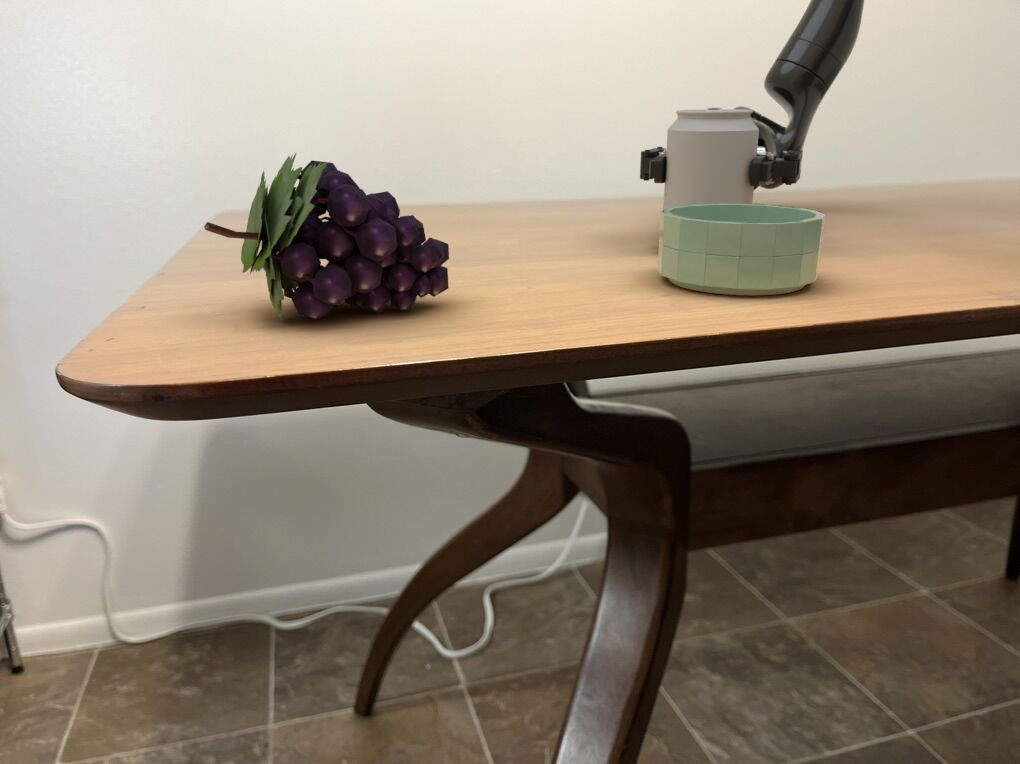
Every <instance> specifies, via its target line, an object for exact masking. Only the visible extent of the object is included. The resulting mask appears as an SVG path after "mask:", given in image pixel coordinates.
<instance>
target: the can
mask: <svg viewBox="0 0 1020 764" xmlns="http://www.w3.org/2000/svg"><path fill="white" fill-rule="evenodd" d="M752 110H753V109H752ZM752 110H744V109H734V108H731V109H730V108H725V109H724V108H722V107H718V106H717V107H716V106H715V107H706V109H678V110H676V111H675V113H676V115H677V118H676V119H675V120H674V121H673V122H672V124H671V125H669V127H668V128H667V131H666V133H667V134H666V149H667V150H666V173H665V183H664V190H663V209H662V210H664V209H666V208H669V207H674V206H681V205H692V204H712V203H739V204H740V203H741V204H754V203H753V202H754V192H755V190H754V186H750V181H751V169H752V161H753V158H755V157H757V146H758V135H759V129H758V127H757V126H756V125H755V123H754V122H753V121H752V120H751V118H750V115H751V113H752V112H753V111H752Z"/></svg>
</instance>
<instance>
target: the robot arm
mask: <svg viewBox="0 0 1020 764" xmlns="http://www.w3.org/2000/svg"><path fill="white" fill-rule="evenodd" d="M864 5H865V0H810V1H809V3H808V5H807V7H806V9H805V11H804V13H803V14H802V17H800V20H799V21H798V23H797V25H796V27H794V30H793V31H792V33H791V34H790V36H789V37H788V40H787V41H786V42H785V44H784V46H783V48H781V50H780V53H778V56H777V57H776V59H775V61H774V62H773V63H772V66H771V67H770V68H769V70H768V72H766V73H767V74H766V75H765V77H764V80H763V88H764V89H765V92H766V93H767V94H768V95H769V96H770V97H771V99H773V100H774V101H775V102H776V103H777V104H778V105H779V106H781V108H782V109H783V110H784V111H785V113H786V114H787V118H788V123H787V126H784V125H781V124H780V123H778V122H776V121H774V120H772V119H770V118H769V117H767V116H766V115H763V114H762V113H759V112H757V111H756V110H754V109H752V108H750V107H746V106H736V107H734V108H733V109H744V110H752V111H753V112H752V113H751V115H750V118H751V120H752V121H753V122H754V123H755V125H756V126H757V127H758V129H759V135H758V146H757V157H755V158H753V161H752V169H751V181H750V186H754V191H755V190H757V189H758V188H763V189H765V190H774V189H777V188H780V187H781V186H783V185H786V186H792V185H794V184H797V183H798V181H799V180H800V179H801V174H802V163H803V154H804V153H803V152H804V150H803V149H804V146H805V142H806V139H807V136H808V133H809V130H810V127H811V125H812V122H813V120H814V117H815V115H816V113H817V111H818V109H819V107H820V105H821V103H822V102H823V99H824V98H825V96H826V94H827V93H828V91H829V90H830V88H831V87H832V85H833V84H834V82H835V80H836V79H837V77H838V76H839V74H840V73H841V71H842V70H843V68H844V66H845V65H846V63H847V62H848V60H849V58H850V57H851V54H852V53H853V50H854V48H855V45H856V42H857V41H858V40H857V39H858V36H859V33H860V29H861V23H862V19H863V12H864ZM666 150H667V147H663V146H657V147H653V148H650V149H644V150H642V151H640V163H639V164H640V168H639V179H640V180H643V181H644V182H645V181H646V182H647V181H650V180H653V182H654V184H665V173H666Z"/></svg>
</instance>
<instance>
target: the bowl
mask: <svg viewBox="0 0 1020 764" xmlns="http://www.w3.org/2000/svg"><path fill="white" fill-rule="evenodd" d="M825 220H826V214H825V213H822V212H819V211H817V210H815V209H808V208H803V207H799V206H787V205H778V204H766V203H765V204H763V203H761V204H760V203H752V204H741V203H740V204H739V203H712V204H692V205H681V206H674V207H669V208H666V209H664V210H663V209H662V210H660V214H659V231H658V233H659V235H658V251H657V253H658V254H657V255H658V256H657V257H658V258H657V271H658V272H659V274H660V275H661V276H662V277H665V278H668V281H669V283H671V284H673V285H675V286H677V287H679V288H683V289H687V290H691V291H694V292H695V291H696V292H701V293H706V294H715V295H726V296H727V295H728V296H745V297H746V296H748V297H749V296H751V297H752V296H753V297H754V296H755V297H756V296H775V295H784V294H789V293H793V292H798V291H801V290H802V289H803V288H804V287H805V286H806V285H809V284H813V283H815V282H816V280H817V279H818V276H819V274H820V273H819V271H820V264H821V263H820V262H821V254H822V245H823V237H824V231H825V230H824V229H825V222H826V221H825Z"/></svg>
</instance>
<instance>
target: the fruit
mask: <svg viewBox="0 0 1020 764" xmlns="http://www.w3.org/2000/svg"><path fill="white" fill-rule="evenodd" d="M296 157H297V152H295V153H293V154H292V155H291V156H290V154H289V155H288V156H287V158H286V159H285V161H284V162H283V163H282V166H281V167H280V168H279V170H278V171H277V174H276V176H274V178H273V180H272V182H271V184H270V186H269V185H267V183H266V182H267V179H266V177H265V171H264V170H265V169H263V170H262V173H261V176H260V183H259V185H258V186H257V189H256V193H255V195H254V198H253V200H252V201H251V206H250V210H249V215H248V218H247V224H246V229H245V231H236V230H233V229H230V228H226V227H224V226H220V225H217V224H215V223H212V222H210V221H209V222H208V221H207V222H206V223H205V225H204V226H203V227H204V230H205V231H207V232H211V233H212V234H213V233H214V234H217V235H219V236H222V237H226V238H229V239H241V240H243V243H242V246H241V253H240V261H241V262H242V265H243V268H242V271H241V273H243V274H244V273H246V272H248V270H250V272H249V273H250V274H249V275H252V273H253V272H254V271H255V273H257V272H258V273H259V272H260V271H262V269H263V270H264V272H265V277H266V284H267V289H268V293H269V295H268V296H269V301H270V302H271V305H272V307H273V308H274V310H275V311H277V312H278V316H279V319H280V321H282V313H283V304H282V303H283V302H282V301H285V297H286V298H287V299H291V301H292V304H293V306H294V308H295V310H296V312H297V314H298V316H300V317H304V318H308V319H312V320H316V321H319V320H321V318H323V317H324V316H325V315H326V314H328V313H329V312H330V311H331V310H332V309H333V308H334V305H337V306H339V305H341V304H342V303H343V302H344V304H346V305H349V306H353V307H356V308H360V309H361V308H362V309H364V310H367V311H371V312H375V313H378V314H381V313H382V311H383V310H384V309H385V307H386V306H387V305H389V303H390V306H391V308H393V309H399V310H413V308H414V305H415V302H416V301H417V297H419V298H420V299H423V298H424V297H426V296H427V295H429V296H432V297H433V298H434V297H436V296H438V295H440V294H442V293H444V292H445V291H447V290H449V287H450V286H449V271H448V270H449V269H448V267H446V266H443V264H445V263H446V262H447V261H448V260H450V247H449V243H447V242H446V241H445V242H444V241H442V240H439V239H436V238H433V237H428V238H426V233H425V226H424V223H423V222H422V221H420V220H419V219H417V218H416V217H415V215H414V214H411V215H402V216H401V214H400V213H401V209H400V206H399V205H398V202H397V199H396V197H395V196H394V195H392V194H391V192H389V191H388V190H386V191H381V192H375V193H373V192H371V193H369V194H366V192H365V191H364V190H363V188H360V186H359V185H358V184H357V183H356V182H355V180H354V179H353V178H352V177H351V176H350V174H349V173H346V172H344V171H341V170H339V169H337V167H336V165H335V163H334V162H329V161H322V160H321V161H319V160H313V159H312V160H311V161H309V163H307V164H306V166H305V167H304V168H303V167H302V166H300V167H298V168H296V169H295V167H293V165H294V163H295V160H296ZM294 169H295V170H294ZM297 181H298V183H297ZM296 183H297V186H295V184H296ZM269 187H270V188H269ZM327 213H328V216H323V215H325V214H327ZM322 216H323V217H322ZM320 217H321V218H320ZM321 260H326V261H327V263H326V265H325V266H324V265H323V264H322V262H321Z"/></svg>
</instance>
